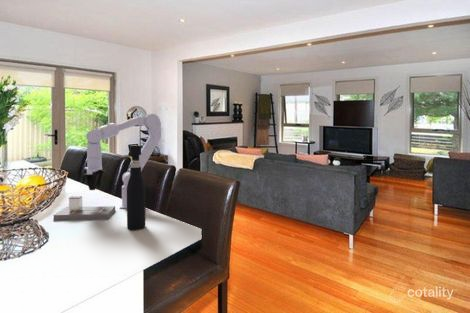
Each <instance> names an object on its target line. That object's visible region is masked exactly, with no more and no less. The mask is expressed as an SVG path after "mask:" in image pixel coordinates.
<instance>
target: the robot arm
mask: <svg viewBox="0 0 470 313" xmlns="http://www.w3.org/2000/svg"><path fill="white" fill-rule="evenodd" d="M135 126H144V127H145V129H146V130H147V132H148V135H149V136H148V138H147V140H146V141H145V143H144V145H143V146H142V147H141V155H139V161H133V162H140V167H141V172H142V170H144V167H145V166H146V164H147V163H148V161H149V159H150V157H151V155H153V152H154V150H155V149H156V147H157V145H158V143H159V141H160V140H161V138H162V122H161V120H160V118H159V116H158V115H157V114H155V113H149V114H145V115H139V116H135V117H133V118H129V119H127V120H125V121H122V122H120V123H114V122H107V123H106V124H105V125H102V126H100V127H99V126H95V129H91V130H89V131H88V132H87V133H86V134H85V135H86V136H85V138H86V140H87V142H86V156H87V158H86V160H87V161H86V163H87V164H86V166H85V167H84V170H86V173H84V174H83V177H84V178H85V180H86V183H87V186H88V189H89V191H96V188H97V187H101V186H102V180H103V178H104V174H105V172H106V170H105V169H104V170H103V160H102V159H103V158H102V145H101V144H102V143H101V140H102V141H104V140H108V139H110V138H112V137H116V136H118V135H119V133H120V131H124V130H126V129H129V128H132V127H135ZM129 177H130V167H129V169H127V171H125V172H124V173H123V174H122V177H121V179H122V183H123V185H121V205H120V206H119V209H127V184H128V180H129Z"/></svg>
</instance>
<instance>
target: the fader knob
mask: <svg viewBox="0 0 470 313" xmlns="http://www.w3.org/2000/svg"><path fill="white" fill-rule="evenodd" d="M68 207H69V211H80V210H81V209H83V208H82V207H83V196H82V195H72V196H69V198H68Z"/></svg>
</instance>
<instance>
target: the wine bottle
mask: <svg viewBox="0 0 470 313" xmlns="http://www.w3.org/2000/svg"><path fill="white" fill-rule="evenodd" d="M141 150H142V146H141V145H129V156H131V162H130V167H129V168H130V177H129V180H128V184H127V208H126V225H127V226H126V229H127V230H129V231H139V230H144V229H145V228H146V186H145V181H144V179H143V175H142V171H141V167H140V162H134V161H139V155H141Z"/></svg>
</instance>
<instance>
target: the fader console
mask: <svg viewBox="0 0 470 313" xmlns="http://www.w3.org/2000/svg"><path fill="white" fill-rule="evenodd" d="M82 208H83V209H81V210H80V211H69V206H66V207H64V208H62V209H61V210H59V211H58V212H56V213H55V214H53V221H70V220H71V221H72V220H73V221H76V220H77V221H79V220H82V221H84V220H108V219H109V218H110V217H111V216H112V215H113V214H114V213H115V212H116V206H115V205H114V206H113V205H110V206H109V205H107V206H105V205H104V206H103V205H102V206H82Z"/></svg>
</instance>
